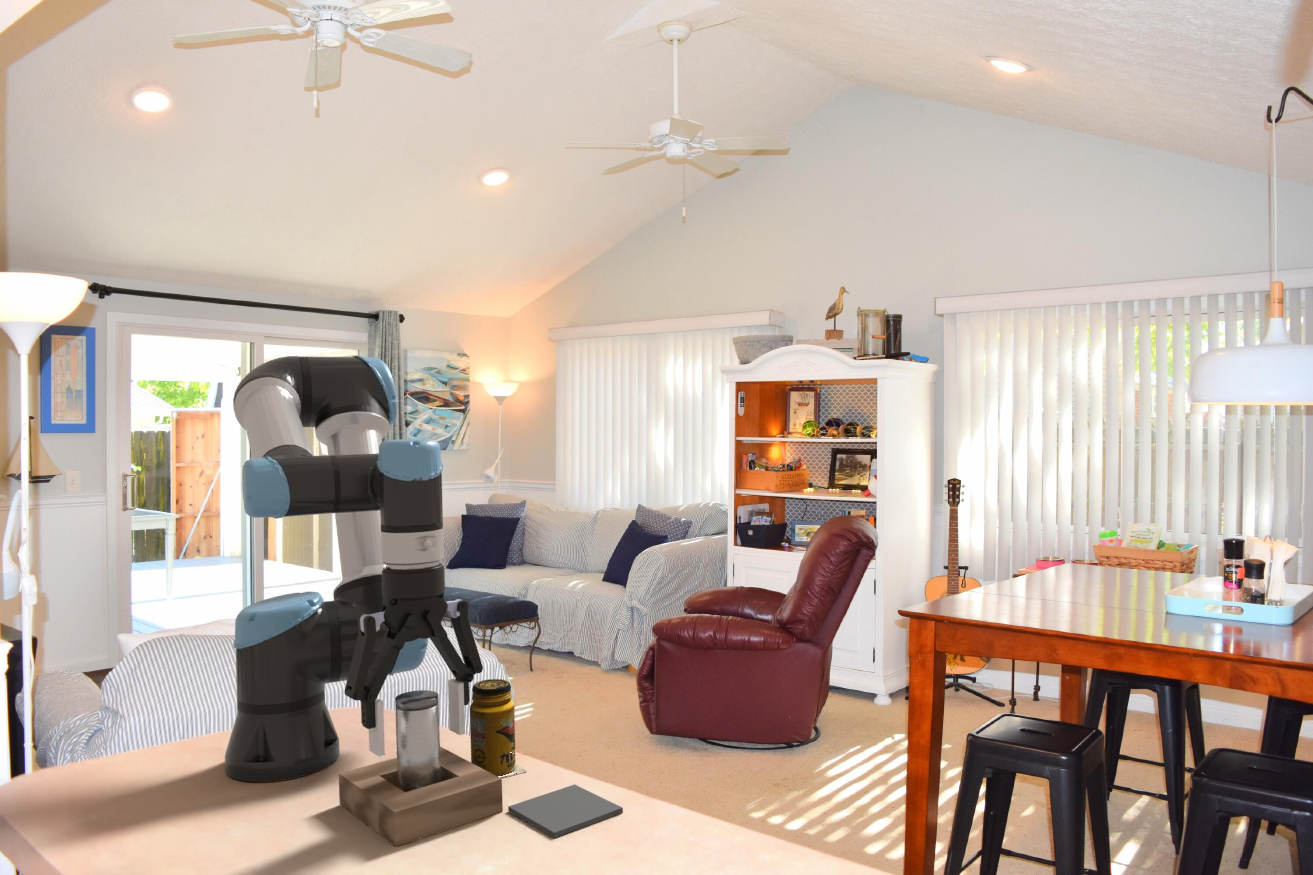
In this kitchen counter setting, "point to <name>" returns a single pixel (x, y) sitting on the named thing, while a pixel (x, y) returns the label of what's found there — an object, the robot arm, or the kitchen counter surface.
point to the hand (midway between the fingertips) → (418, 741)
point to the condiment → (493, 728)
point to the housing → (419, 798)
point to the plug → (417, 739)
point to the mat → (565, 810)
